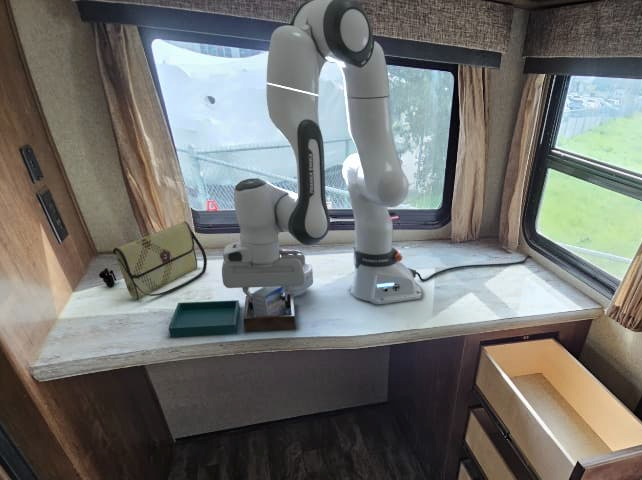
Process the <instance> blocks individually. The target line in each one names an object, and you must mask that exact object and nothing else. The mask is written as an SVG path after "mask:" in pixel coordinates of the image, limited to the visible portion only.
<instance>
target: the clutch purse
mask: <svg viewBox="0 0 642 480" xmlns="http://www.w3.org/2000/svg"><path fill="white" fill-rule="evenodd" d="M195 243H196V245H197V247H198V248H199V250H200V252H201V255H202V258H203V259H202V260H203V265H202V270H201V271H200V272H199V273H198V274H197V275H195V276H194V277H193V278H191V279H189V280H188V281H186V282H184V283H182V284H179V285H177V286H175V287H173V288H170V289H167V290H165V291H162V292H159V293H153V294H152V292H153V291H156V290H157V289H159V288H161V287H162V286H165V285H166V284H169V283H170V282H172V281H174V280H176V279H178V278H180V277H182V276H183V275H186V274H187V273H189V272H191V271H193V270H197V268H198V259H197V254H196V251H195ZM112 254H113V258H114V259H115V260H116V261H117V263H118V266H119V269H120V272H121V274H122V278H123V280H124V283H125V286H126V288H127V291H128V293H129V295H130V297H131V298H132V299H133V300H134V301H138V300H139V299H140V298H142V297H144V296H149V297H157V296H163V295H166V294H168V293H171V292H173V291H175V290H178V289H180V288H183V287H185V286H187V285H189V284H190V283H192V282H194V281H196V280H198V278H200V277H201V276H203V275H204V274H205V273H206V270H207V265H208V258H207V255H206V252H205V249H204V247H203V245H202V244H201V242H200V240H199V239H198V238H197V237H196V234H195V233H194V231H193V230H192V225H190V224H189V223H188V222H187V221H182V222H179V223H177V224H174V225H172V226H170V227H167V228H164V229H162V230H159V231H156V232H154V233H151V234H148V235H146V236H143V237H140V238H139V239H136V240H133V241H131V242H128V243H125V244H123V245H121V246H118V247H114V248H113V251H112ZM150 293H151V294H150Z"/></svg>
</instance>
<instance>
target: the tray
mask: <svg viewBox="0 0 642 480" xmlns="http://www.w3.org/2000/svg"><path fill="white" fill-rule="evenodd" d="M240 315H241V304H240V301H239V299H234V300H233V299H231V300H213V301H209V300H208V301H187V302H186V301H184V302H177V304H176V307H175V309H174V312H173V315H172V318H171V321H170V323H169V326H168V332H169V335H170V337H171V338H183V337H201V336H202V337H203V336H219V335H233V334H235V335H236V334H238V330H239V329H238V328H239V321H240Z"/></svg>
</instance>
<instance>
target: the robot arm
mask: <svg viewBox="0 0 642 480" xmlns="http://www.w3.org/2000/svg"><path fill="white" fill-rule="evenodd" d="M326 63H329V64H337V65H338V67H339V69H340V71H341V75H342V78H343V89H344V98H345V108H346V117H347V124H348V125H347V126H348V127H347V128H348V132H349V135H350V137H351V139H352V141H353V144H354V147H355V150H356V153H352V154H350V155H349V156H348V157H347V158H346V159H345V160H344V162H343V164H342V176H343V179H344V181H345V184H346V187H347V190H348V195H349V200H350V204H351V209H352V210H351V211H352V214H353V221H354V240H355V241H354V243H355V245H354V247H353V265H354V275H353V280H352V285H351V289H350V292H351V294H352V295H353V296H354V297H356V298H357V299H360V300H363V301H366V302H370V303H372V304H374V305H378V306H379V305H386V304H387V305H388V304H393V303H399V302H401V303H402V302H407V301H408V302H409V301H414V300H420V298H422V288H421V287H420V286H419V285H418V283H416V281H415V278H416V277H417V276H418V279H419V280H420V281H421V282H426V281H429V280H431V279H432V278H433V277H435V276H438V275H439V274H442V273H444V272H447V271H452V270H457V269H464V268H475V267H478V268H479V267H499V266H511V265H520V264H523V263H525V262H527V260H528V259H529V258H531V257H532V255H530V254H527V255H526V257H525V258H524V259H523V260H520V261H513V262H504V263H503V262H502V263H486V264H485V263H484V264H481V263H480V264H466V265H457V266H452V267H448V268H444V269H442V270H439V271H436V272H434V273H432V274H431V275H430V276H429V277H427V278H423V277H422V275H421V274H420V273H419V272H418V271H417V270H415V269H412V268H409V267H407V266H406V265H405V264H403V263H402V262H401V261H402V260H403V256H402V254H401V253H400V252H399V251H398V250H397V249H396V248H395V247H394V246H393V235H394V233H393V231H394V230H393V228H394V225H393V220H392V217H391V215H390V212H389V210H388V209H389V208H396V207H398V206H400V205H401V204H402V203H403V202H405V199H406V198H407V196H408V194H409V189H410V187H409V185H410V184H409V180H408V177H407V175H406V173H405V172H404V170H403V167H402V165H401V162H400V159H399V155H398V151H397V146H396V143H395V142H396V141H395V138H394V134H393V133H394V132H393V124H392V109H391V95H390V94H391V91H390V80H389V73H388V66H387V61H386V57H385V52H384V49H383V48H382V46H381V45H380V44H379V43H378V42H377V41H376V40H375V37H374V34H373V28H372V23H371V21H370V18H369V15H368V14H367V12H366V10H365V8H364V7H363V6H362V5H361V4H360V3H359V2H357V1H356V0H306V1H305V2H303V3H301V4H300V5H299V6H298V7H297V8H296V9H295V11H294V13H293V16H292V18H291V21H290V23H289V25H281V26H279V27H277V28H276V29H274V31H273V32H272V34H271V36H270V41H269V48H268V54H267V65H266V91H265V92H266V96H265V97H266V106H267V112H268V117H269V119H270V121H271V122H272V124H273V126H274V127H275V128H276V129H277V130H278V132H280V134H281V135H282V136H283V137H284V138H285V140H286V141H287V143H288V144H289V146H290V148H291V149H292V152H293V154H294V157H295V165H296V166H295V167H296V183H297V184H296V186H297V193H295V192H294V191H291V190H288V189H283V188H281V187H278V186H276V185H273V184H272V183H270V182H268V180H266V179H264V178H261V177H256V178H255V177H251V178H246V179H243V180H241V181H239V182H238V183H237V184H236V185H235V187H234V191H233V201H234V203H233V205H234V213H235V218H236V222H237V225H238V227H239V241H235V242H232V243H228V244H227V245H225V247H223V251H222V257H223V262H222V266H221V278H222V284H223V286H224V287H225V288H227V289H242V292H243V293H244V294H245V296H248V297H249V302H252V297H251V294H252V292H251V291H250V290H249V289H250V288H263V287H278V286H284V287H285V292H284V293H281V298H282V301H287V295H288V293H289V291H290V286H303V285H304V284H305V282H306V280H305V273H304V268H303V266H304V265H305V262H306V256H305V254H304V253H303V252H301V251H300V250H298V249H280V243H279V241H280V240H279V234H280V233H286V234H288V235H289V236H291V237H292V238H293V239H295V240H296V241H298V242H299V243H301V244H302V245H305V246H314V245H317V244H319V243H320V242H322V241H323V240H324V239H325V238H326V236H327V235H328V233H329V230H330V226H331V217H330V212H329V208H328V205H327V199H326V198H327V197H326V172H325V169H326V168H325V148H324V139H323V133H322V130H321V125H320V117H319V115H320V114H319V99H320V98H319V97H320V96H319V95H320V77H321V72H322V69H323V67H324V65H325V64H326ZM529 255H530V256H529Z"/></svg>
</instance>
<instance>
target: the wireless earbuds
mask: <svg viewBox="0 0 642 480" xmlns="http://www.w3.org/2000/svg"><path fill="white" fill-rule="evenodd" d="M98 277H99V278H100V279H102V281H103V283H104V284H105V285H106V287H108V288H112V287H114V285H115V283H116V282H115V281H117V278H116V275H115V273H114V270H112V269H110V270H109V269H108V268H104V269H103V270H101V271H100V272H99V274H98Z"/></svg>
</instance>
